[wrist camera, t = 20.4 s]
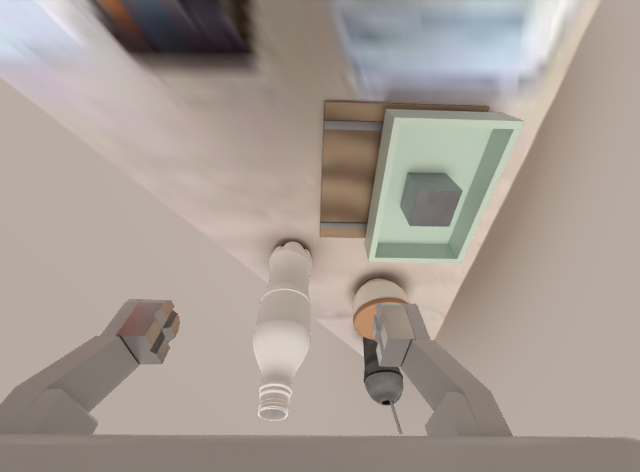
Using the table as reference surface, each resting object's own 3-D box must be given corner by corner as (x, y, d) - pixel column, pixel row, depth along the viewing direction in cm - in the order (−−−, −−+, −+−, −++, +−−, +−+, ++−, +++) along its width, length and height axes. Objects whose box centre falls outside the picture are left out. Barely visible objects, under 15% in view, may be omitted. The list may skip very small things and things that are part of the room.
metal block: (407, 172, 35) (419, 189, 30) (445, 173, 35) (462, 190, 31) (399, 206, 37) (409, 226, 33) (435, 206, 38) (449, 226, 34)
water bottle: (321, 253, 47) (323, 414, 27) (293, 274, 50) (276, 433, 30) (290, 229, 44) (267, 390, 24) (263, 253, 47) (221, 414, 26)
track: (324, 101, 33) (324, 102, 32) (486, 106, 33) (490, 107, 32) (320, 234, 44) (320, 238, 43) (439, 236, 45) (441, 240, 44)
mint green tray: (383, 106, 32) (394, 117, 27) (496, 110, 32) (525, 121, 28) (363, 239, 43) (368, 261, 39) (446, 240, 44) (460, 263, 39)
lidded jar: (372, 313, 57) (381, 355, 49) (338, 289, 52) (341, 331, 45) (415, 288, 52) (432, 330, 45) (381, 259, 48) (393, 301, 40)
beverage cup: (360, 315, 57) (377, 423, 41) (393, 317, 58) (423, 425, 41) (353, 335, 61) (366, 440, 45) (384, 337, 62) (408, 442, 46)
